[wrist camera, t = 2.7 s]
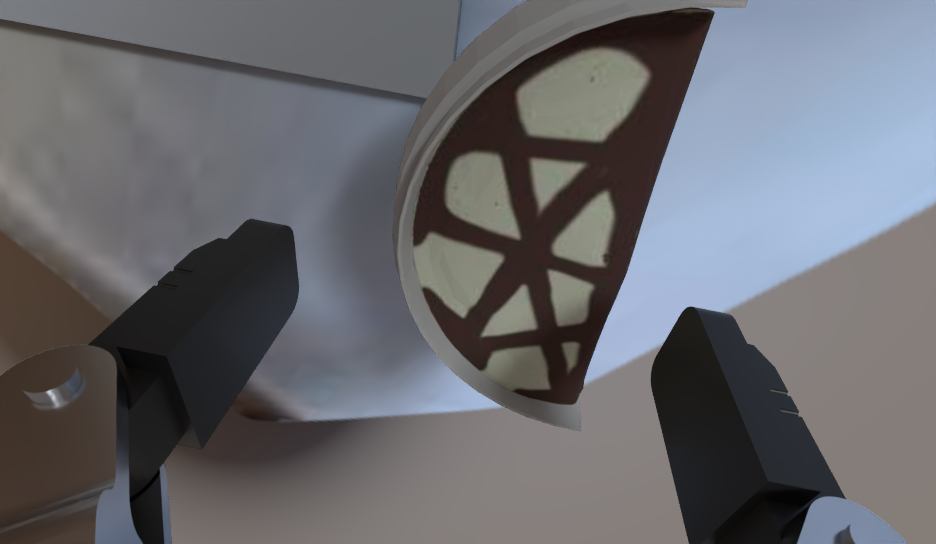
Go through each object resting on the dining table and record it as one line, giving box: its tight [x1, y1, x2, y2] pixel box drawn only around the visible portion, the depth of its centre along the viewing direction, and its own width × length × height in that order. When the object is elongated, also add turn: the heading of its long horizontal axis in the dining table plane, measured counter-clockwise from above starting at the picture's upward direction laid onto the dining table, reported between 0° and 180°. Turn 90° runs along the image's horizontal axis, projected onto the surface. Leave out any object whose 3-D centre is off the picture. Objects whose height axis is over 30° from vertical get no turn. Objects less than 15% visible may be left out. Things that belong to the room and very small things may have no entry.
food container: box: [393, 0, 748, 431], centre depth 15 cm, size 12×6×10 cm, turn 175°
